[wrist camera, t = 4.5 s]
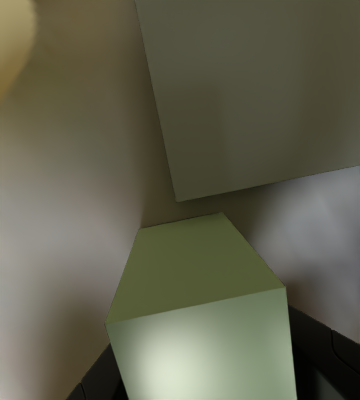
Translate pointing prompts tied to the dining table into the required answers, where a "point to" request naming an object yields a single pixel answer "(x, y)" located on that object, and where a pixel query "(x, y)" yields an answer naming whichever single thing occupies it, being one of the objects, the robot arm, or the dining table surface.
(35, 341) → the dining table surface
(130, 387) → the sage brick
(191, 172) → the slate board
